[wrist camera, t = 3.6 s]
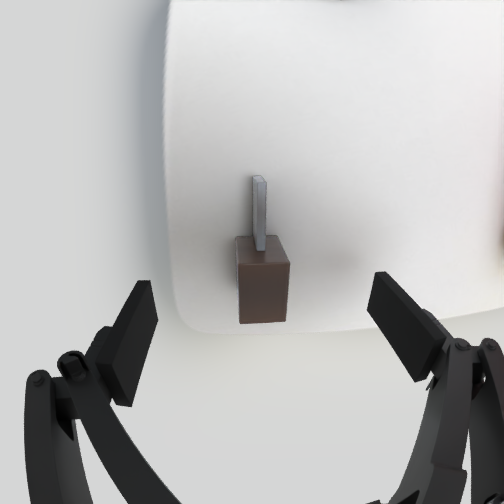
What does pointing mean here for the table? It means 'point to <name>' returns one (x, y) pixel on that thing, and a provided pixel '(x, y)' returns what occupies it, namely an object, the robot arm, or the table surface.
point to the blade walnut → (261, 268)
